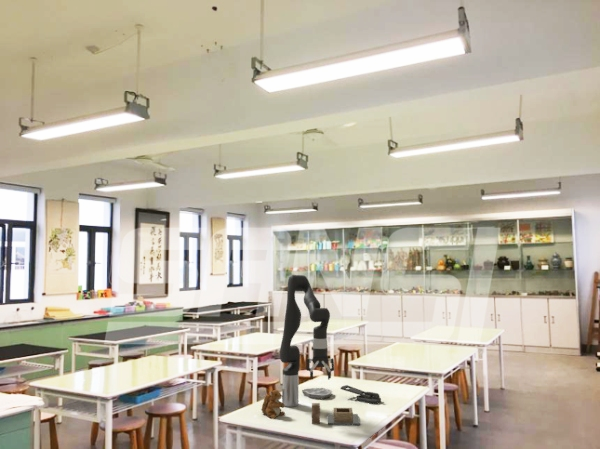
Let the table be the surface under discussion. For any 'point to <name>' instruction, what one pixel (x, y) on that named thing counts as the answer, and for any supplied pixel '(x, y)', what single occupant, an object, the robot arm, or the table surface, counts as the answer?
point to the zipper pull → (363, 395)
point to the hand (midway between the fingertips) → (320, 379)
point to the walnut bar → (315, 413)
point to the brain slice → (317, 393)
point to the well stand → (343, 417)
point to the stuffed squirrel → (273, 404)
